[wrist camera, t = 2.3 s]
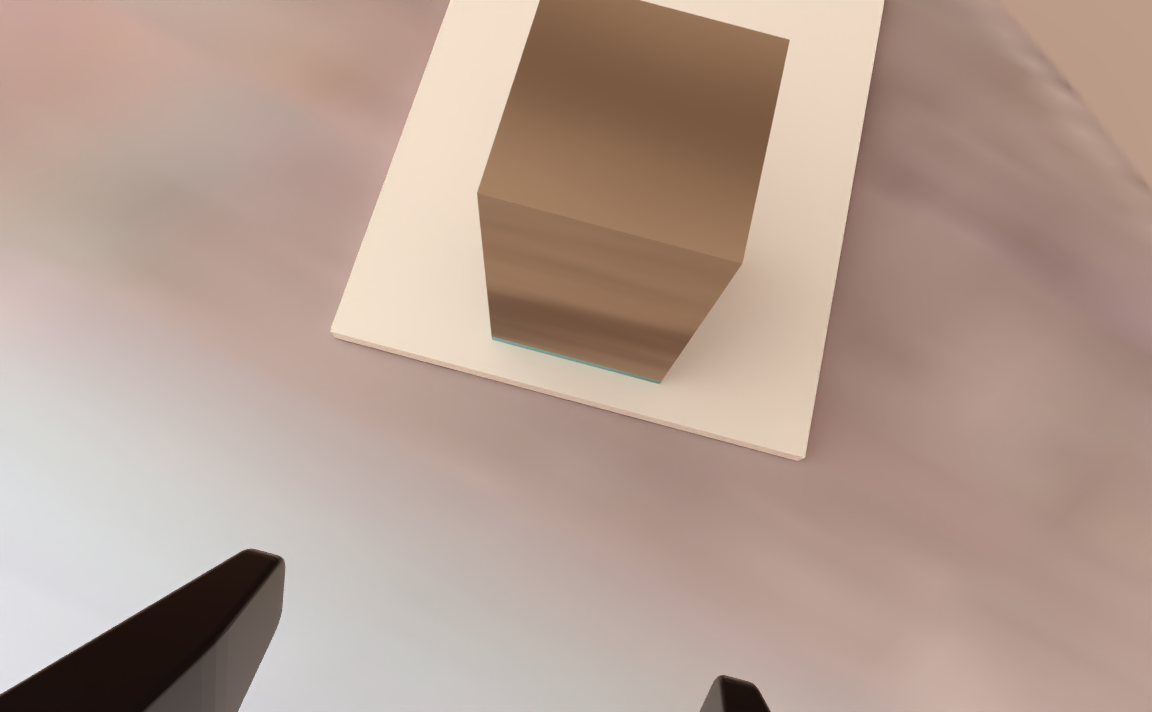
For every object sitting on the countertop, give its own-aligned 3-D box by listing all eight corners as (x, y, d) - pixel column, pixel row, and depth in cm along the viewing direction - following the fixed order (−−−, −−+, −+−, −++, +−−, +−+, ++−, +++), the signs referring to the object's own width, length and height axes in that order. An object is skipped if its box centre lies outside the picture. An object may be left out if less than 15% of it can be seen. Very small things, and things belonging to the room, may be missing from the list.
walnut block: (659, 384, 23) (742, 263, 15) (491, 339, 23) (477, 193, 15) (695, 231, 25) (790, 39, 16) (537, 189, 25) (547, -25, 16)
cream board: (797, 461, 24) (804, 457, 23) (334, 337, 24) (329, 331, 23) (880, -5, 28) (887, -18, 28) (495, -107, 29) (494, -121, 28)
